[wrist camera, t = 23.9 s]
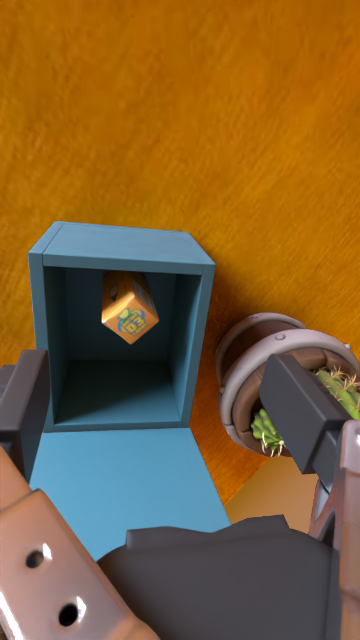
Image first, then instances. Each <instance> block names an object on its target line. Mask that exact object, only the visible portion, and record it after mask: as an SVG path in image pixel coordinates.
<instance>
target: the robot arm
mask: <svg viewBox="0 0 360 640" xmlns="http://www.w3.org/2000/svg"><path fill="white" fill-rule="evenodd" d="M50 394H51V386H50V370H49V355H48V351H47V350H23V351H22V353H21V355H20V357H19V359H18V362H17V364H16V365H4V366H3V367H1V368H0V640H360V420H354V418H353V417H352V416H351V415H350V414H349V413H348V411H347V410H346V409H345V408H344V407H343V406H342V405H341V403H340V402H339V401H338V400H337V399H336V398H335V396H334V395H333V394H331V392H330V391H329V390H328V388H327V387H326V386H324V384H323V383H322V382H321V380H320V379H319V378H318V377H317V376H316V375H315V374H314V373H312V372H311V371H309V370H308V369H306V368H305V367H302V366H301V365H300V363H299V362H298V361H297V360H296V359H295V357H294V356H293V355H291V354H271V355H270V356H269V357H268V360H267V363H266V366H265V370H264V373H263V377H262V380H261V384H260V388H259V395H260V400H261V402H262V404H263V406H264V408H265V409H266V411H267V413H268V415H269V417H270V418H271V420H272V422H273V424H274V425H275V427H276V429H277V431H278V432H279V434H280V436H281V438H282V440H283V441H284V443H285V445H286V447H287V448H288V450H289V452H290V454H291V455H292V457H293V459H294V461H295V462H296V464H297V466H298V467H299V470H300V471H301V473H302V474H315V473H317V475H318V477H319V479H318V481H317V484H316V489H315V494H314V501H313V507H312V514H311V519H310V526H309V532H308V534H305V533H303V532H300V531H298V530H294V529H290V528H289V526H288V524H287V522H286V520H285V517H284V515H274V516H263V517H253V518H247V519H244V520H242V521H239V522H237V523H235V524H232V525H230V526H228V527H225V528H223V529H220V530H218V531H216V532H211V533H209V532H202V531H196V530H190V529H184V528H178V527H172V526H161V527H151V528H141V529H130V530H126V541H125V545H122V546H120V547H117V548H115V549H114V550H112V551H110V552H108V553H106V554H105V555H104V556H102V557H101V558H100V559H98V560H97V561H96V562H95V560H94V559H93V558H92V556H91V555H90V553H89V552H88V551H87V549H86V548H85V547H84V545H83V544H82V542H81V541H80V540H79V538H78V537H77V536H76V534H75V533H74V531H73V530H72V529H71V527H70V526H69V525H68V523H67V522H66V520H65V519H64V518H63V516H62V515H61V514H60V512H59V511H58V510H57V508H56V507H55V505H54V504H53V503H52V501H51V500H50V499H49V497H48V496H47V495H46V493H45V492H44V491H43V490H42V489H40V488H37V489H35V490H32V489H31V488H30V486H29V483H30V479H31V475H32V471H33V467H34V463H35V459H36V456H37V452H38V448H39V444H40V440H41V436H42V432H43V428H44V424H45V420H46V416H47V412H48V408H49V403H50Z"/></svg>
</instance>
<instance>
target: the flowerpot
mask: <svg viewBox="0 0 360 640" xmlns="http://www.w3.org/2000/svg"><path fill="white" fill-rule="evenodd" d="M290 324H291V325H290ZM350 349H351V347H350V345H349V344H343V343H341V342H340V341H339V340H337V339H335V338H334V337H332V336H330V335H327V334H325V333H322V332H319V331H315V330H308V329H307V328H306V327H305V326H304V324H303V322H299V321H298V320H296V319H293V318H291V317H289V316H286V315H283V314H279V313H258V314H254V315H251V316H248V317H246V318H244V319H242V320H241V321H239V322H238V323H236V324H235V325H234V326H233V327H232V328H230V329H229V330H228V331H227V333H226V334H225V336H224V337H223V338H222V340H221V341H220V343H219V346H218V348H217V349H216V350H215V353H216V356H215V366H216V374H217V378H218V381H219V383H220V388H219V393H218V409H219V415H220V419H221V422H222V424H223V426H224V428H225V429H226V431H227V433H228V435H229V436H230V437H231V439H232V440H233V441H234V442H235V443H237V444H238V445H240V446H242V447H243V448H245V449H248V450H250V451H253V452H257V453H259V454H262V455H265V456H268V457H274V456H275V455H276V454H279V455H282V456H287V457H292V455H291V454H290V452H289V450H288V448H287V447H286V445H285V443H284V441H283V440H282V438H281V436H280V434H279V432H278V431H277V429H276V427H275V425H274V424H273V422H272V420H271V418H270V417H269V415H268V413H267V411H266V409H265V408H264V406H263V404H262V402H261V400H260V395H259V388H260V384H261V380H262V377H263V373H264V370H265V366H266V363H267V360H268V357H269V356H270V355H271V354H291V355H293V356H294V357H295V359H296V360H297V361H298V362H299V363H300V365H301V366H302V367H305V368H306V369H308V370H309V371H311V372H312V373H314V374H315V375H316V376H317V377H318V378H319V379H320V380H321V382H322V383H323V384H324V386H326V387H327V388H328V390H329V391H330V392H331V394H333V395H334V396H335V398H336V399H337V400H338V401H339V402H340V403H341V405H342V406H343V407H344V408H345V409H346V410H347V411H348V413H349V414H350V415H351V416H352V417H353V418H354V420H360V364H359V362H358V360H357V358H356V357H355V355H354V354H353V353H352V352H351V351H350Z"/></svg>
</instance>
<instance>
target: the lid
mask: <svg viewBox="0 0 360 640" xmlns="http://www.w3.org/2000/svg"><path fill="white" fill-rule="evenodd" d="M29 486H30V488H31V489H32V490H35V489H37V488H40V489H42V490H43V491H44V492H45V493H46V495H47V496H48V497H49V499H50V500H51V501H52V503H53V504H54V505H55V507H56V508H57V510H58V511H59V512H60V514H61V515H62V516H63V518H64V519H65V520H66V522H67V523H68V525H69V526H70V527H71V529H72V530H73V531H74V533H75V534H76V536H77V537H78V538H79V540H80V541H81V542H82V544H83V545H84V547H85V548H86V549H87V551H88V552H89V553H90V555H91V556H92V558H93V559H94V560H95V562H96V561H97V560H98V559H100V558H101V557H102V556H104V555H105V554H106V553H108V552H110V551H112V550H114V549H115V548H117V547H120V546H122V545H125V541H126V530H130V529H141V528H151V527H161V526H172V527H178V528H184V529H190V530H196V531H202V532H209V533H211V532H216V531H218V530H220V529H223V528H225V527H228V526H230V525H231V523H230V520H229V518H228V516H227V513H226V511H225V509H224V506H223V504H222V502H221V499H220V497H219V495H218V492H217V490H216V488H215V485H214V483H213V481H212V478H211V476H210V474H209V471H208V469H207V467H206V464H205V462H204V459H203V457H202V455H201V452H200V450H199V448H198V445H197V443H196V441H195V438H194V436H193V434H192V431H191V429H190V428H170V429H143V430H116V431H89V432H63V433H42V436H41V440H40V444H39V448H38V452H37V456H36V459H35V463H34V467H33V471H32V475H31V479H30V483H29Z"/></svg>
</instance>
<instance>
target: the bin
mask: <svg viewBox="0 0 360 640" xmlns="http://www.w3.org/2000/svg"><path fill="white" fill-rule="evenodd" d="M28 260H29V271H30V283H31V294H32V306H33V317H34V329H35V340H36V350H47V351H48V355H49V370H50V386H51V394H50V403H49V408H48V412H47V416H46V420H45V424H44V428H43V432H44V433H54V432H82V431H109V430H136V429H163V428H189V423H190V417H191V411H192V405H193V399H194V393H195V387H196V381H197V375H198V369H199V363H200V357H201V351H202V345H203V339H204V333H205V327H206V321H207V315H208V309H209V303H210V297H211V291H212V285H213V279H214V273H215V268H216V264H215V263H214V262H213V261H212V259H211V258H210V257H209V256H208V255H207V254H206V252H205V251H204V250H203V249H202V248H201V247H200V245H199V244H198V243H197V242H196V241H195V240H194V238H193V237H192V236H191V235H190V234H189V233H188V232H181V231H168V230H156V229H144V228H132V227H120V226H108V225H96V224H84V223H72V222H60V221H55V222H54V223H53V225H52V226H51V227H50V228H49V229H48V230H47V231H46V233H45V234H44V235H43V236H42V237H41V238H40V239H39V241H38V242H37V243H36V244H35V245H34V246H33V247H32V248H31V250H30V251H29V252H28ZM109 270H120V271H138V272H142V273H143V274H144V276H145V277H146V279H147V282H148V285H149V288H150V291H151V294H152V298H153V301H154V304H155V308H156V311H157V314H158V318H159V322H158V323H157V324H155V325H154V326H153V327H152V328H151V329H149V330H148V331H147V332H146V333H144V334H143V335H142V336H141V337H140V338H138V339H137V340H136V341H135V342H134V343H132V344H129V343H128V342H127V341H126V340H125V339H123V338H122V337H121V336H119V335H118V334H117V333H115V332H114V331H113V330H111V329H110V328H108V327H107V326H105V325H104V324H103V323H102V289H103V276H104V275H105V274H106V273H107V272H108V271H109Z"/></svg>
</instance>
